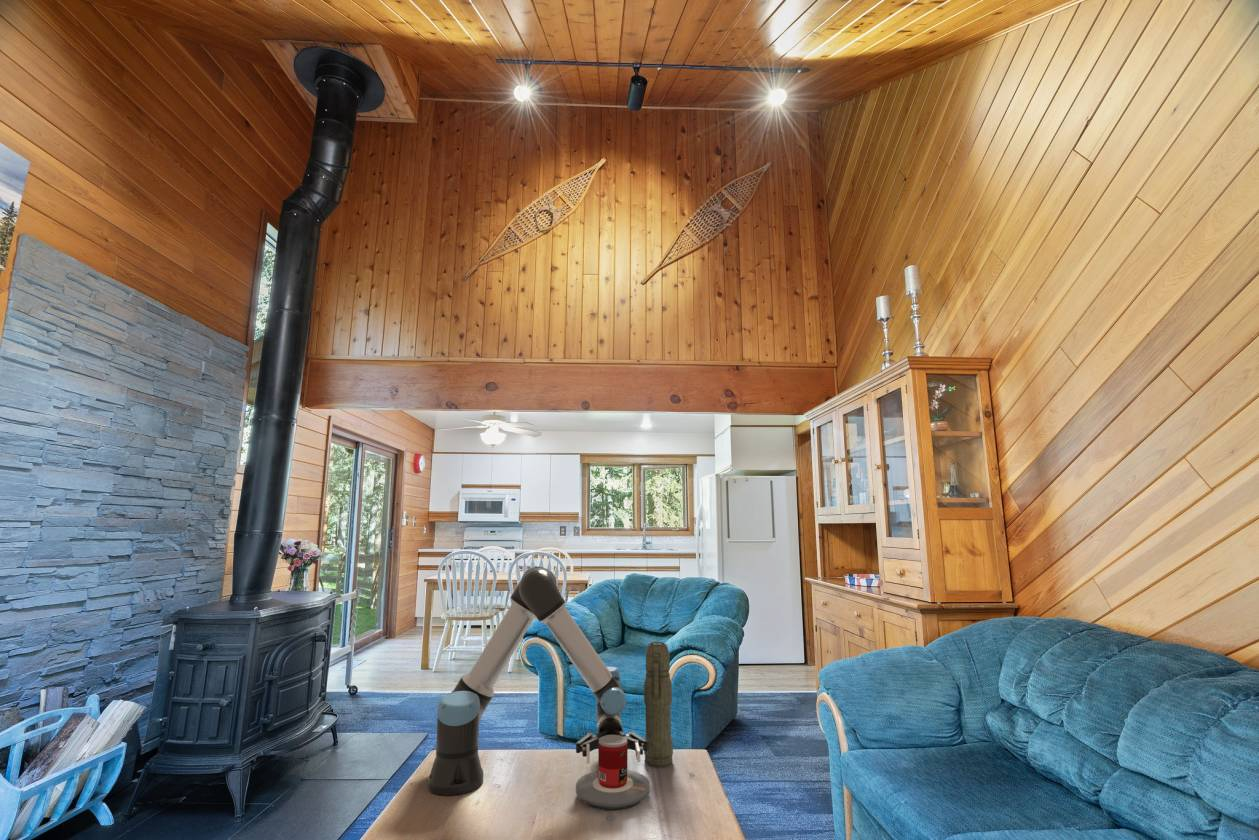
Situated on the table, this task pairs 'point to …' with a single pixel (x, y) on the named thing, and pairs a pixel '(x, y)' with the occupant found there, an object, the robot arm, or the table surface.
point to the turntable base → (612, 807)
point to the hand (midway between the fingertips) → (613, 757)
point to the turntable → (613, 790)
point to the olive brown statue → (658, 706)
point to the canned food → (612, 761)
